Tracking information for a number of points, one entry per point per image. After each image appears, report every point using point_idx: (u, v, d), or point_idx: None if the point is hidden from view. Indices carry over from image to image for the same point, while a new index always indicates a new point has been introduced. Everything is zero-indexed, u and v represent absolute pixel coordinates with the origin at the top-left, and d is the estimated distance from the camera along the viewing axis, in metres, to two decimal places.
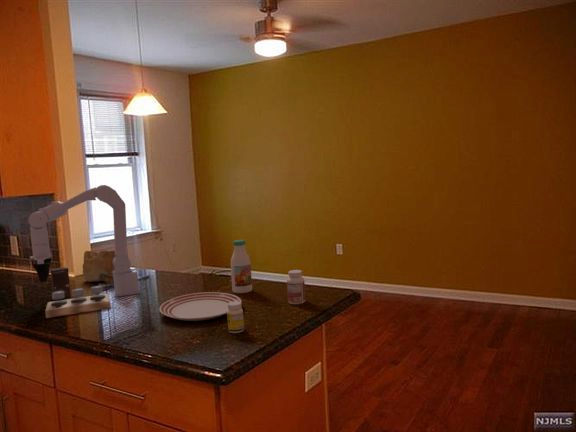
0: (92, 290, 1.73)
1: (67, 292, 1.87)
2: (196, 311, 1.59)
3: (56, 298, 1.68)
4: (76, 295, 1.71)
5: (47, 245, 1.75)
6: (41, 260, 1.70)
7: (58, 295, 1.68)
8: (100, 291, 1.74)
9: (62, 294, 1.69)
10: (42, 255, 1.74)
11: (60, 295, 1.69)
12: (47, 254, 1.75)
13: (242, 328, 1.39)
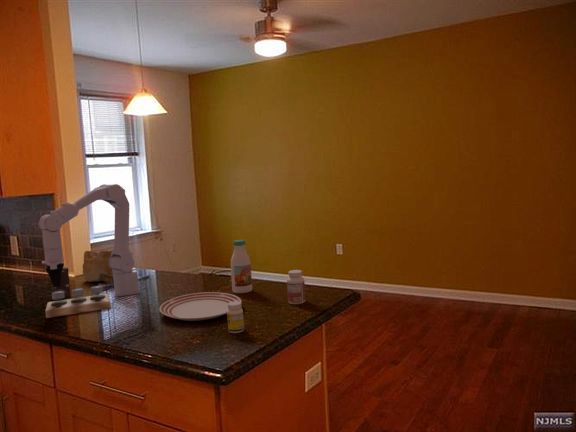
0: (92, 290, 1.73)
1: (67, 292, 1.87)
2: (196, 311, 1.59)
3: (56, 298, 1.68)
4: (76, 295, 1.71)
5: (60, 249, 1.68)
6: (54, 265, 1.62)
7: (58, 295, 1.68)
8: (100, 291, 1.74)
9: (62, 294, 1.69)
10: (55, 260, 1.66)
11: (60, 295, 1.69)
12: (60, 259, 1.68)
13: (242, 328, 1.39)
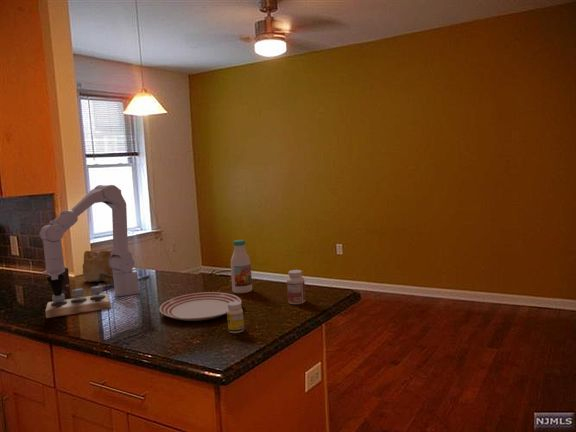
0: (92, 290, 1.73)
1: (67, 292, 1.87)
2: (196, 311, 1.59)
3: (56, 301, 1.68)
4: (76, 295, 1.71)
5: (61, 259, 1.68)
6: (55, 276, 1.63)
7: (58, 298, 1.68)
8: (100, 291, 1.74)
9: (62, 297, 1.70)
10: (56, 270, 1.67)
11: (60, 298, 1.69)
12: (61, 269, 1.68)
13: (242, 328, 1.39)
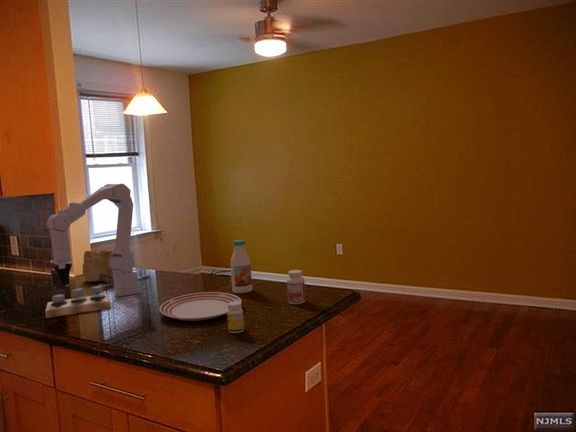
0: (92, 290, 1.73)
1: (67, 292, 1.87)
2: (196, 311, 1.59)
3: (56, 301, 1.68)
4: (76, 295, 1.71)
5: (68, 249, 1.69)
6: (63, 265, 1.63)
7: (58, 298, 1.69)
8: (100, 291, 1.74)
9: (62, 297, 1.70)
10: (63, 259, 1.67)
11: (60, 298, 1.69)
12: (68, 258, 1.69)
13: (242, 328, 1.39)
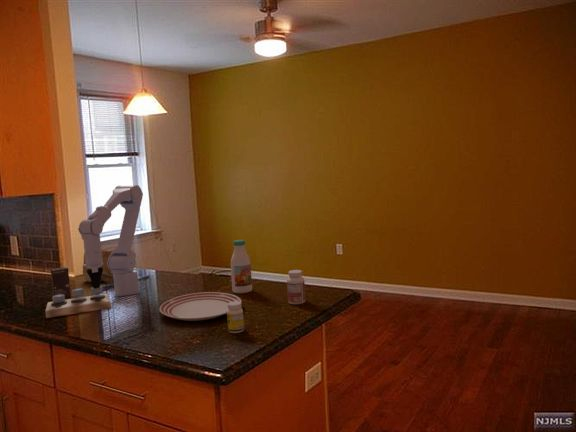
0: (92, 291, 1.73)
1: (67, 292, 1.87)
2: (196, 311, 1.59)
3: (56, 301, 1.68)
4: (76, 295, 1.71)
5: (100, 253, 1.73)
6: (96, 268, 1.68)
7: (58, 298, 1.69)
8: (100, 292, 1.74)
9: (62, 297, 1.70)
10: (95, 263, 1.72)
11: (60, 298, 1.69)
12: (100, 262, 1.73)
13: (242, 328, 1.39)
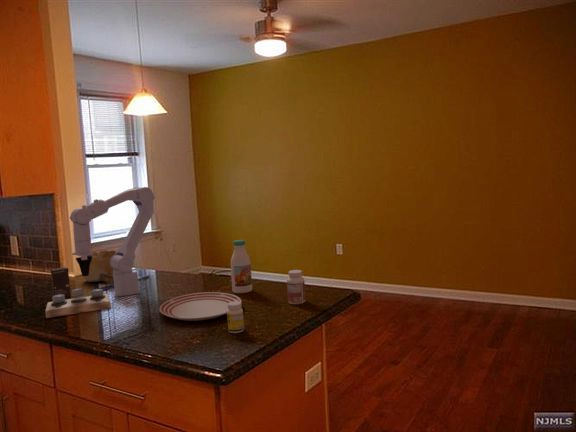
0: (92, 293, 1.74)
1: (67, 292, 1.87)
2: (196, 311, 1.59)
3: (56, 301, 1.68)
4: (76, 295, 1.71)
5: (89, 241, 1.78)
6: (85, 256, 1.72)
7: (58, 298, 1.69)
8: (100, 294, 1.74)
9: (62, 297, 1.70)
10: (85, 251, 1.76)
11: (60, 298, 1.69)
12: (89, 250, 1.78)
13: (242, 328, 1.39)
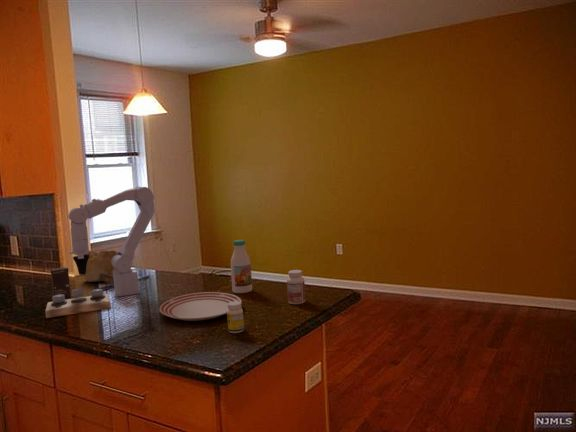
0: (92, 293, 1.74)
1: (67, 292, 1.87)
2: (196, 311, 1.59)
3: (56, 301, 1.68)
4: (76, 295, 1.71)
5: (86, 241, 1.79)
6: (81, 255, 1.74)
7: (58, 298, 1.69)
8: (100, 294, 1.74)
9: (62, 297, 1.70)
10: (81, 250, 1.78)
11: (60, 298, 1.69)
12: (86, 249, 1.79)
13: (242, 328, 1.39)
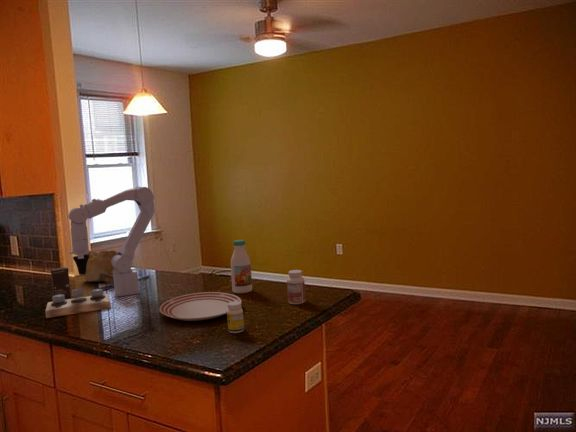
0: (92, 293, 1.74)
1: (67, 292, 1.87)
2: (196, 311, 1.59)
3: (56, 301, 1.68)
4: (76, 295, 1.71)
5: (86, 241, 1.79)
6: (81, 255, 1.74)
7: (58, 298, 1.69)
8: (100, 294, 1.74)
9: (62, 297, 1.70)
10: (81, 250, 1.78)
11: (60, 298, 1.69)
12: (86, 249, 1.79)
13: (242, 328, 1.39)
